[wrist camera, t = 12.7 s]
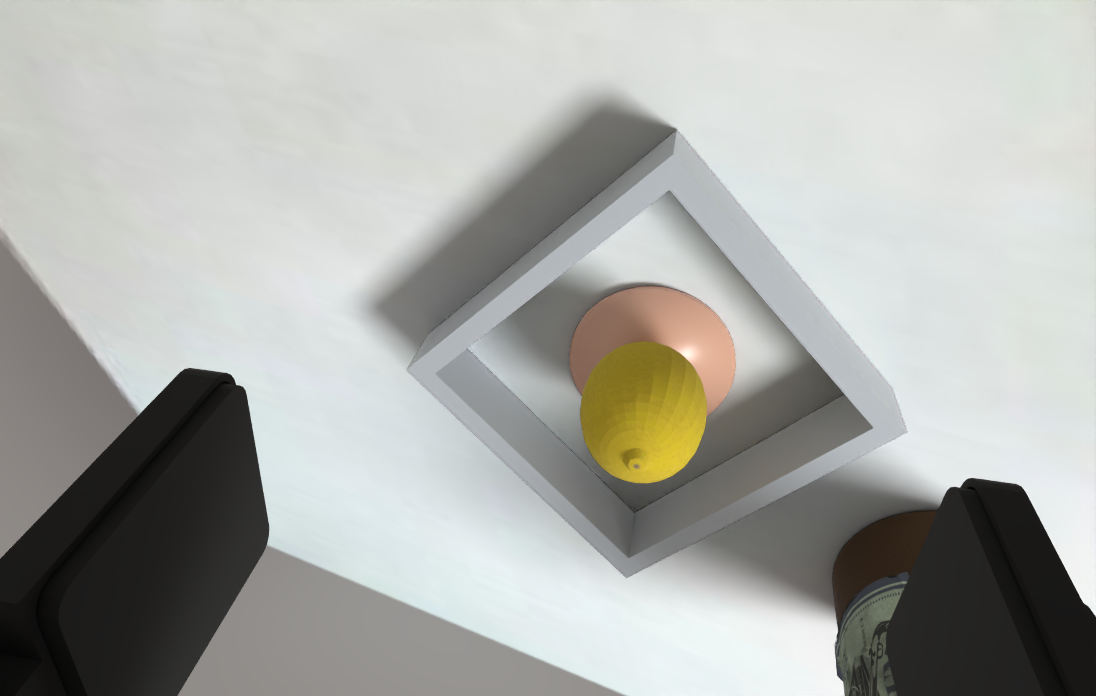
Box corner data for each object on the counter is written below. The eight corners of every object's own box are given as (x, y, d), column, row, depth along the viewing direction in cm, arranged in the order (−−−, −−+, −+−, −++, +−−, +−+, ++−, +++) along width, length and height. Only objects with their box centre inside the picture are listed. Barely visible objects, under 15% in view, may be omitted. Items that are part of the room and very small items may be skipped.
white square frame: (428, 334, 41) (406, 370, 38) (677, 129, 34) (673, 154, 31) (632, 531, 45) (626, 578, 42) (892, 388, 38) (907, 432, 35)
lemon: (570, 369, 40) (542, 472, 33) (636, 290, 37) (621, 384, 30) (660, 428, 41) (650, 539, 34) (731, 355, 38) (736, 460, 31)
